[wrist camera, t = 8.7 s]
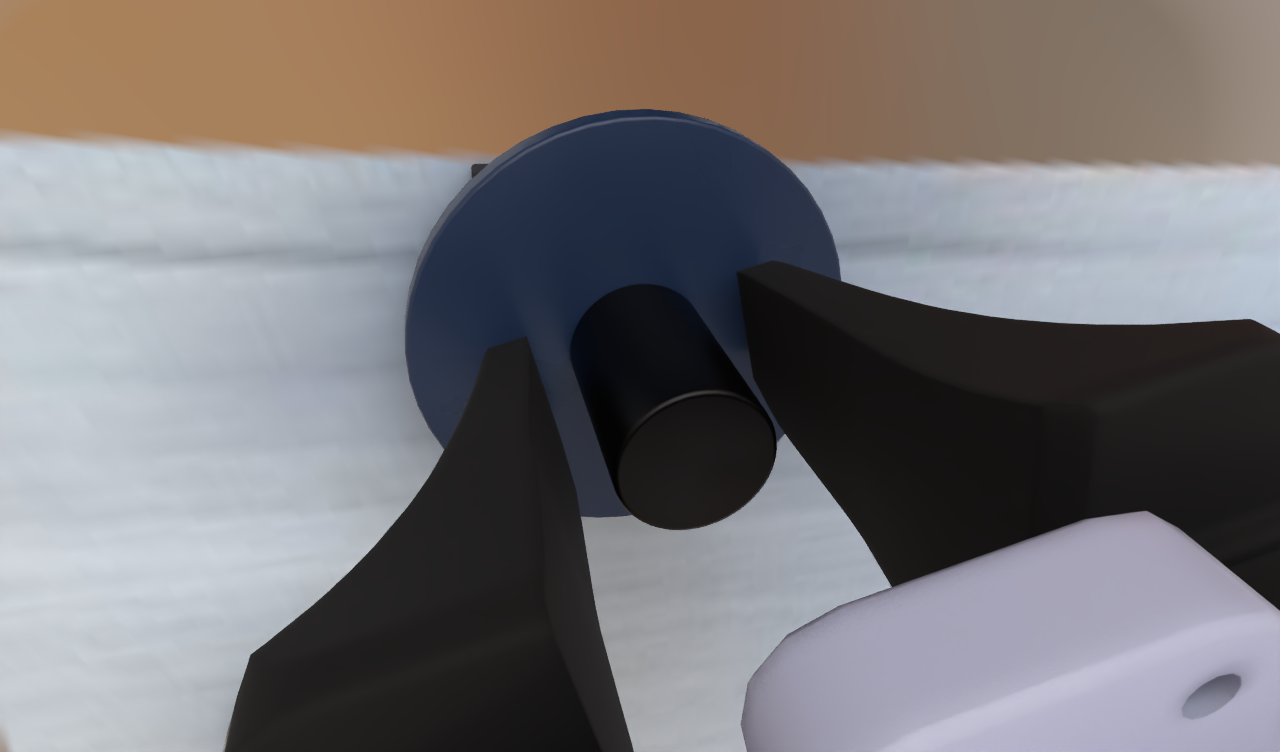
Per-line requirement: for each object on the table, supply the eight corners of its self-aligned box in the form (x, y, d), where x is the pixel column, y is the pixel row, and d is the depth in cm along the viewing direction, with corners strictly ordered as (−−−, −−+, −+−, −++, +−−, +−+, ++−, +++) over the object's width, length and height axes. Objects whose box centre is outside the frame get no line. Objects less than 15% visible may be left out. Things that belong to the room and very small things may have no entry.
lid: (852, 105, 13) (1028, 186, 9) (780, 465, 16) (886, 628, 13) (387, 92, 11) (373, 185, 7) (419, 498, 15) (422, 697, 11)
